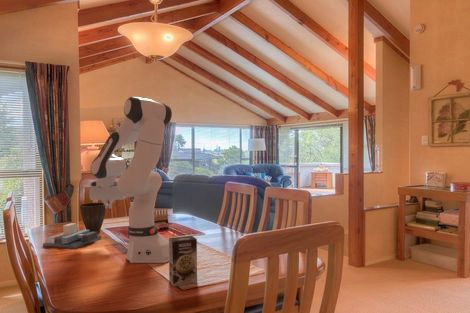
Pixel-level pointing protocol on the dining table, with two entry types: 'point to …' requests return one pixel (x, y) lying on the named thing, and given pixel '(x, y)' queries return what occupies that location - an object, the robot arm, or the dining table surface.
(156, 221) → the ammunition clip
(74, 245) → the vise bed
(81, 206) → the plant pot
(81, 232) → the vise jaw
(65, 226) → the block
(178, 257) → the coffee box
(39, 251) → the dining table surface
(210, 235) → the dining table surface
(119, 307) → the dining table surface
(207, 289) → the dining table surface
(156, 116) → the robot arm
